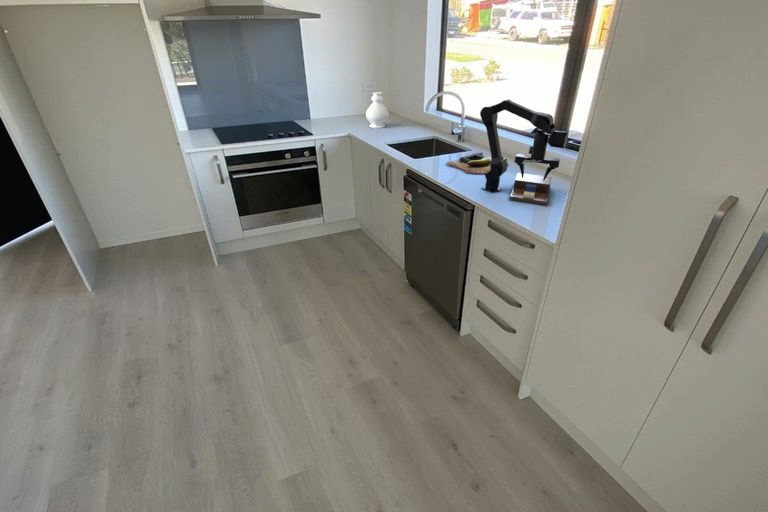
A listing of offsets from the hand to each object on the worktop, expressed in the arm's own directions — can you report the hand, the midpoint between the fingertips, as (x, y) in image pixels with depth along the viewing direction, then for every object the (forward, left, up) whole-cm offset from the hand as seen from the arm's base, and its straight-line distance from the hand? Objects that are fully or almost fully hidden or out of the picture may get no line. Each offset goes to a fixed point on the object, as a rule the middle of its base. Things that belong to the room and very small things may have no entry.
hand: (533, 179), depth 180 cm
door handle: (+24, +53, -9) cm, 59 cm away
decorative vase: (+32, +165, -9) cm, 168 cm away
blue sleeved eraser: (-1, 0, -7) cm, 7 cm away
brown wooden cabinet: (+4, +3, -9) cm, 10 cm away
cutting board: (+20, +48, -7) cm, 52 cm away
